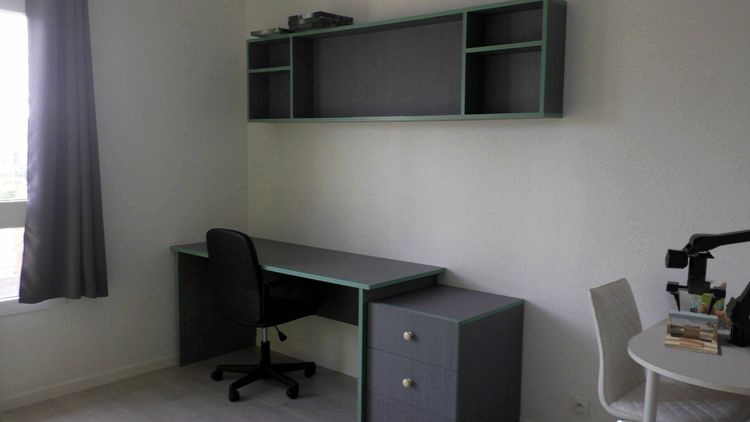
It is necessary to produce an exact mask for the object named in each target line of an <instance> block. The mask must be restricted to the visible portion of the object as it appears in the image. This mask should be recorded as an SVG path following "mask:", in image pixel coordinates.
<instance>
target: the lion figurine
mask: <svg viewBox="0 0 750 422" xmlns="http://www.w3.org/2000/svg"><path fill="white" fill-rule="evenodd" d="M708 308H709V305H708V304H706V303H700V304H698V309H697V311H698V313H699V314H707V315H708ZM709 315H714V316H717V317H718V320H720V321H723V320H725V325H723V326H722V327H723V328H728V327H729V326H732V324H733V323H732V322H731V319H730V318H729V317H728V316H727V315H726V312H725V310H724V311H717V310H715V309H714V308H712V310H711V312H710V314H709ZM704 326H706V328H711V327H712V324H711V323H709V322H707V323H704Z"/></svg>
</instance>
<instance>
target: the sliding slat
mask: <svg viewBox="0 0 750 422" xmlns="http://www.w3.org/2000/svg"><path fill="white" fill-rule="evenodd" d="M668 317H672V318H674V319H680V320H681V319H682V320H688V321H691V320H694V321H693V322H696V321H702V322H709V323H716V324H717V325H718V323H719V322H718V317H717V316H714V315H709V316H708V315H707V314H699V313H692V312H690V311H683V310H680V312H679V311H678V309H677V310H676V309H669V310H668ZM668 317H667V318H668ZM717 322H718V323H717Z"/></svg>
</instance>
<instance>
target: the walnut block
mask: <svg viewBox="0 0 750 422" xmlns="http://www.w3.org/2000/svg"><path fill="white" fill-rule="evenodd" d="M683 326H684V334H682V335H683V337H682V338H687V339H694V340H700V329H701V327H700V326H699V325H691V324H685V323H684V325H683Z"/></svg>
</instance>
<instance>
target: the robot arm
mask: <svg viewBox="0 0 750 422" xmlns="http://www.w3.org/2000/svg"><path fill="white" fill-rule="evenodd" d="M748 242H749V243H750V228H748V229H743V230H736V231H730V232H723V233H722V232H721V233H718V234H717V233H694V234H692V235H691V236H690V237H689V240H688V243H687V244H685V246H684V247H683V248H682V249H674V248H667V251H666V254H665V258H664V265H665V266H664V267H665V268H666V269H672V270H673V269H674V270H685V268H687V267H688V268H687V278H686V279H687V280H686V285H684V284H683V285H682V284H680V281H678V282H677V281H672V280H671V281H670V280H668V281H667V282H666V284H665V285H666V286H665V287H666V288H665V292H666V293H667V292H668V293H669V294H670V295H672V296H673V297H674V301H675V302H676V306H677V311H679V312H680V311H681V295H680V293H681V292H680V291H683V292H687V293H688V295H691V296H692V294H695V295H699V296H702V295H703V293H708V294H712V295H711V299H710V304H709V308H708V316H709V314H710V312H711V310H712V308H713V306H714V304H715V303H716V302H717V300H721V298H725V299H726V298H727V288H726V289H725V288H724V287H717V286H713V289H711V288H710V284H711V282H707V281H706V279H707V268H708V259H710V260H711V259H713V260H714V259H715V256H714V255H713V254H712V253H711V250H714V249H715V250H716V248H720V247H722V246H727V245H728V246H729V245H735V244H742V243H748ZM724 307H726V308H725V309H724V311H725V312H726V315H727V316H728V317H729V318H730V319H731V322H732V323H733V324H732V326H731V325H730V326H731V327H730V332H729V339H725V341H726V342H727V343H730V344H733V345H736V346H737V347H741V348H742V347H750V281H748V283H747V285H746V286H745V287H744V290H743V291H742V293H741V294H740V295H738V296H737V297H736V298H735V297H734V296H731V297H730V298H729V301H728V302H727V304H724Z"/></svg>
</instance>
